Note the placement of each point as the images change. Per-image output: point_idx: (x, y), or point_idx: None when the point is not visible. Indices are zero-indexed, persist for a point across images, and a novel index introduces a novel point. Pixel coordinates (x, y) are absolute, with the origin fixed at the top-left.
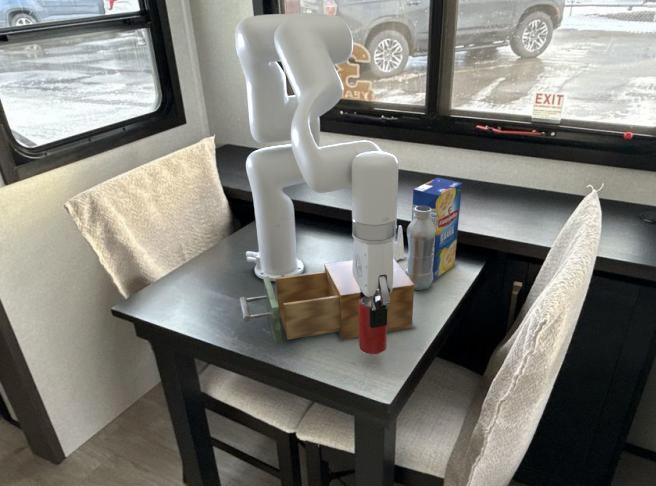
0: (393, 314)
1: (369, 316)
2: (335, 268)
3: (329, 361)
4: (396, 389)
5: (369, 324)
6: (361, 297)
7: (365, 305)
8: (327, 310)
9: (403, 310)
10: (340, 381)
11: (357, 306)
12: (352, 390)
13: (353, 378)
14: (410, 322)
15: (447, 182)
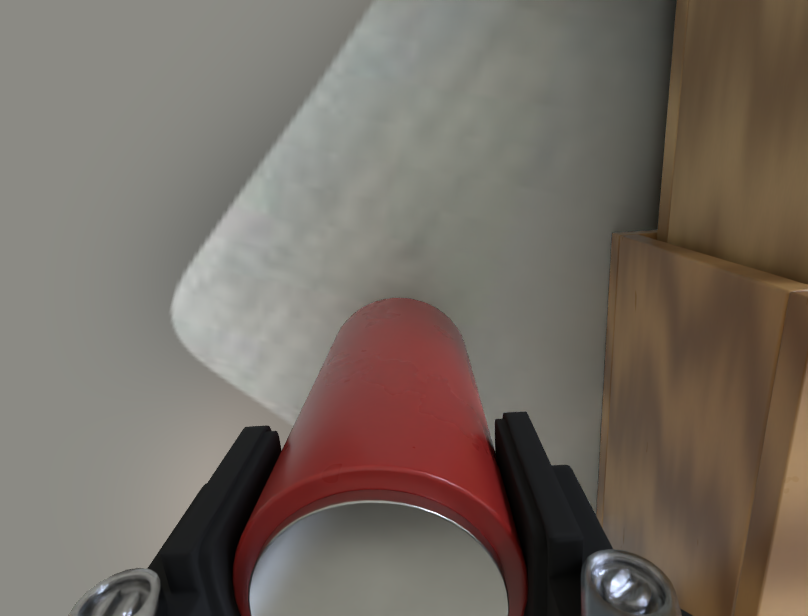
0: (637, 518)
1: (233, 479)
2: None
3: (451, 141)
4: (222, 375)
5: (259, 432)
6: (531, 503)
7: (290, 519)
8: (766, 168)
9: None
10: (295, 167)
11: (706, 383)
12: (230, 208)
13: (308, 228)
14: None
15: None
